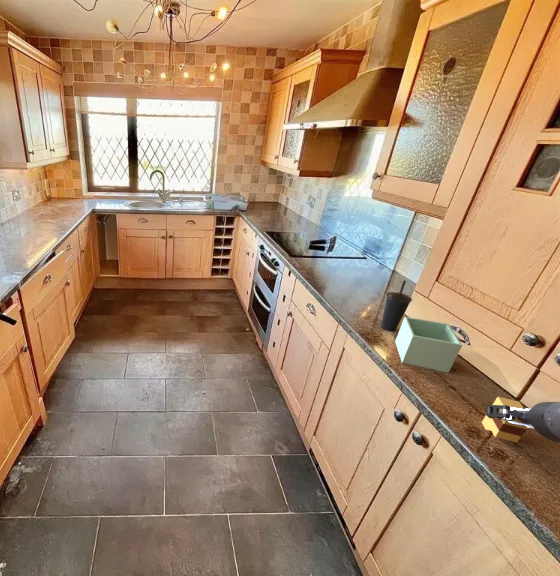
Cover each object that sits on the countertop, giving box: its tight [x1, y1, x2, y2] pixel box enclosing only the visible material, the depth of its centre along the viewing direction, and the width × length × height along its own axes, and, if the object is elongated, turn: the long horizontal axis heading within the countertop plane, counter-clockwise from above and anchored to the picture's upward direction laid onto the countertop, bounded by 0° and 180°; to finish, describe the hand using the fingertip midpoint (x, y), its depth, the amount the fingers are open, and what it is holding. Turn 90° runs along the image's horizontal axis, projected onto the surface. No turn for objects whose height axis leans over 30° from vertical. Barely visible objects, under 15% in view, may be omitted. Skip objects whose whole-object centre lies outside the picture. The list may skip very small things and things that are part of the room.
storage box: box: [394, 316, 463, 374], centre depth 100 cm, size 12×12×11 cm
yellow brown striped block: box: [481, 396, 529, 443], centre depth 74 cm, size 4×6×9 cm
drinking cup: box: [380, 279, 413, 333], centre depth 112 cm, size 8×8×20 cm
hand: (512, 419), depth 71 cm, fingers open, 8 cm apart
